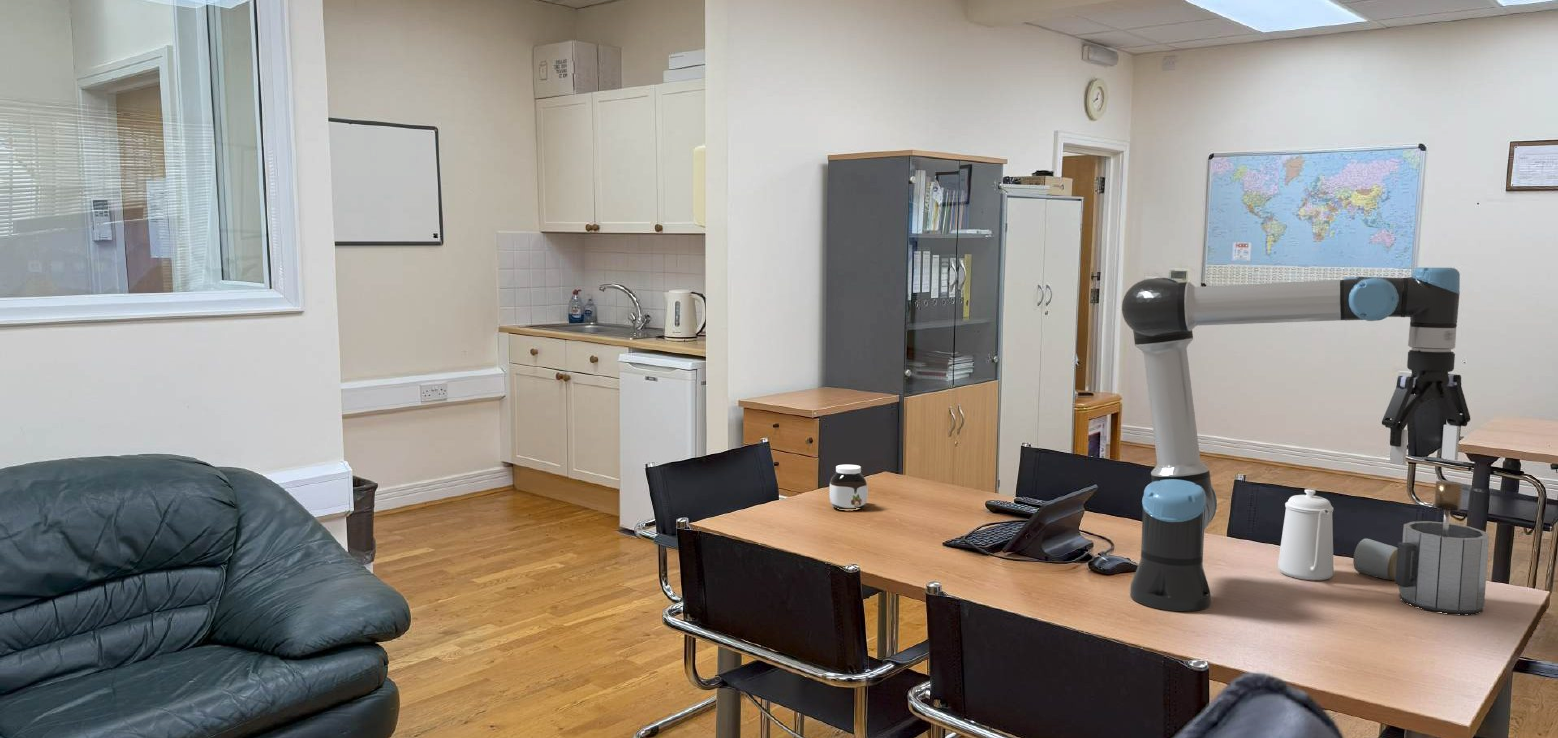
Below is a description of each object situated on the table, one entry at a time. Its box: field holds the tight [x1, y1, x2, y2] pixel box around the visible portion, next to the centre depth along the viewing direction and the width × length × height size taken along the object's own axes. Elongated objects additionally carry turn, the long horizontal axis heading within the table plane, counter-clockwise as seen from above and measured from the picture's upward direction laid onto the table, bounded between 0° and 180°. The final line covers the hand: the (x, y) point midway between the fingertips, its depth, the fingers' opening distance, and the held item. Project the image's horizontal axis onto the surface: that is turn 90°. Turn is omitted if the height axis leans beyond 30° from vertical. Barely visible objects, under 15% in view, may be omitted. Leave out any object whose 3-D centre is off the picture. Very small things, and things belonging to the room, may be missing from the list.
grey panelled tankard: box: [1394, 520, 1490, 616], centre depth 210 cm, size 16×14×15 cm
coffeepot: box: [1277, 489, 1335, 582], centre depth 228 cm, size 11×25×19 cm, turn 168°
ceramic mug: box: [1352, 538, 1398, 581], centre depth 229 cm, size 11×8×8 cm
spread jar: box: [828, 464, 869, 509], centre depth 290 cm, size 12×11×12 cm
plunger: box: [1433, 480, 1463, 537], centre depth 209 cm, size 10×10×15 cm
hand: (1423, 461), depth 200 cm, fingers open, 13 cm apart
